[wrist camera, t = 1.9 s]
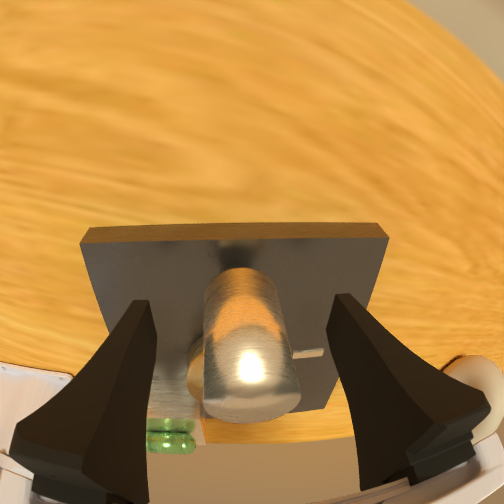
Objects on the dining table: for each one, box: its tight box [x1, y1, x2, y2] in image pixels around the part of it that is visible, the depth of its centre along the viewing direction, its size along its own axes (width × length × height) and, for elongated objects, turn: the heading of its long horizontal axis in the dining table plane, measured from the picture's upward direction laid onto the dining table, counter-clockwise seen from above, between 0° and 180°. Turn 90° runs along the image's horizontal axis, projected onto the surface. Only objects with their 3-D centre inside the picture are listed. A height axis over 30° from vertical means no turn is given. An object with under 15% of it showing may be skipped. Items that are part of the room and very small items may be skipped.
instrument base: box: [80, 223, 389, 454], centre depth 17 cm, size 15×17×6 cm
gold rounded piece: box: [187, 268, 301, 423], centre depth 14 cm, size 12×6×7 cm, turn 178°
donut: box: [443, 355, 504, 445], centre depth 22 cm, size 10×3×10 cm, turn 161°
